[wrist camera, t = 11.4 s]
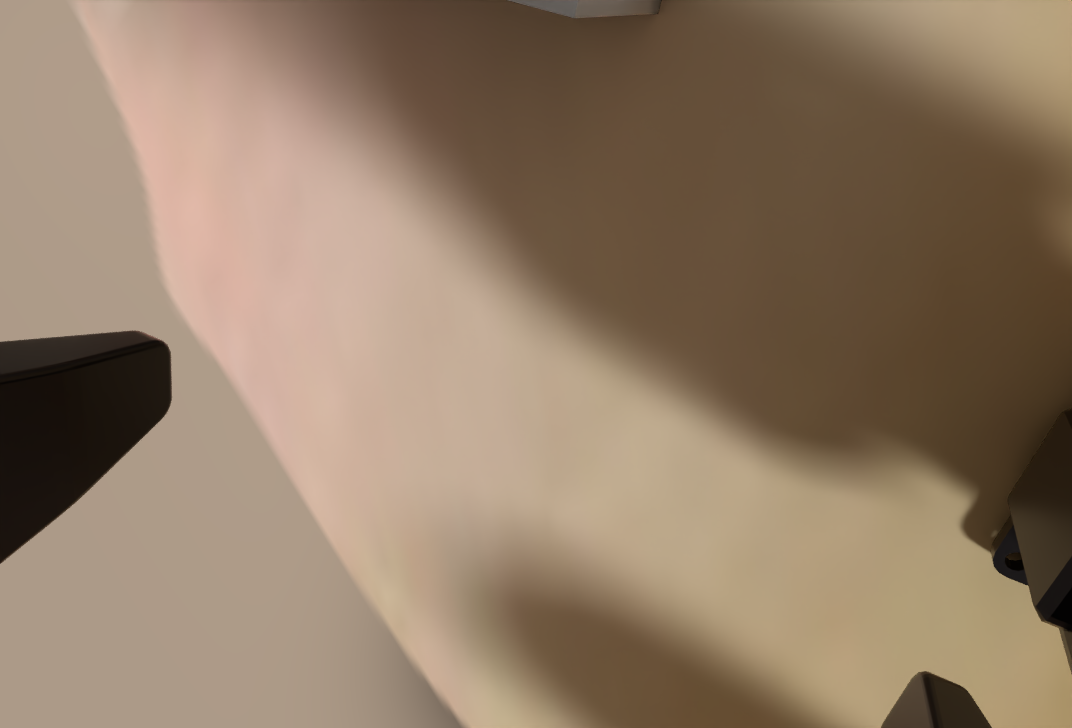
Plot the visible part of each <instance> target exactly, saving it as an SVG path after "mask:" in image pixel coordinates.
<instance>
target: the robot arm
mask: <svg viewBox="0 0 1072 728" xmlns="http://www.w3.org/2000/svg"><path fill="white" fill-rule="evenodd" d="M171 385H172V381H171V352H170V350H169V347H168V345H167V344H166V343H165V342H163V341H162V340H160V339H157V338H155V337H153V336H150V335H148V334H146V333H143V332H140V331H123V332H112V333H111V332H110V333H99V334H87V335H75V336H64V337H52V338H40V339H29V340H17V341H5V342H0V564H1V563H2V562H3V561H4V560H6V559H7V558H8V557H9V556H11V555H12V554H13V553H14V552H15V551H17V550H18V549H19V548H21V546H23V545H24V544H25V543H27V542H28V541H29V540H30V539H32V538H33V537H34V536H35V535H37V534H38V533H39V532H40V531H42V530H43V529H44V528H45V527H47V526H48V525H49V524H50V523H51V522H52V521H54V520H55V519H56V518H58V517H59V516H60V515H61V514H62V513H64V512H65V511H66V510H67V509H68V508H70V507H71V506H72V505H73V504H74V503H75V502H77V501H78V500H79V499H80V498H81V497H82V496H83V495H84V494H85V493H86V492H87V491H88V490H89V489H90V488H91V487H93V485H95V484H96V483H97V482H98V481H99V480H100V479H101V478H102V477H103V476H104V475H105V474H106V473H107V472H108V471H109V470H110V469H111V468H112V467H113V466H114V465H115V464H116V463H117V462H118V461H119V460H120V459H121V458H122V457H123V456H124V455H125V454H126V453H127V452H129V451H130V450H131V449H132V447H134V446H135V445H136V444H137V443H138V442H139V441H140V440H141V439H142V438H143V437H144V436H145V435H146V434H147V433H148V432H149V431H150V430H151V429H152V428H153V427H154V426H155V425H156V424H157V423H158V422H159V421H160V420H161V419H162V418H163V417H164V416H165V414H166V413H167V411H168V409H169V407H170V404H171V400H172V386H171ZM1008 504H1009V508H1010V512H1011V516H1010V517H1009V519H1008V520H1007V522H1006V523H1005V525H1004V527H1003V528H1002V530H1001V531H1000V533H999V534H998V536H997V537H996V539H995V541H994V542H993V544H992V547H991V554H992V559H993V564H994V567H995V568H996V569H997V571H998V572H999V573H1000V574H1002V575H1004V576H1006V577H1007V578H1010V579H1013V580H1015V581H1018V582H1020V583H1023V584H1025V585H1028V586H1029V590H1030V594H1031V598H1032V602H1033V605H1034V607H1035V610H1036V612H1037V614H1038V616H1039V618H1040V619H1041V621H1043V622H1045V623H1048V624H1050V625H1053V626H1055V627H1058V628H1059V630H1060V634H1061V637H1062V641H1063V645H1064V648H1065V652H1066V655H1067V659H1068V663H1069V666H1070V670H1071V674H1072V408H1071V409H1069V410H1066V411H1064V412H1062V413H1061V414H1060V416H1059V418H1058V419H1057V421H1056V422H1055V424H1054V425H1053V427H1052V429H1051V430H1050V432H1049V433H1048V435H1047V436H1046V438H1045V440H1044V441H1043V443H1042V444H1041V446H1040V448H1039V449H1038V451H1037V452H1036V454H1035V455H1034V457H1033V459H1032V460H1031V462H1030V463H1029V465H1028V466H1027V468H1026V470H1025V471H1024V473H1023V474H1022V476H1021V477H1020V479H1019V481H1018V482H1017V484H1016V485H1015V487H1014V489H1013V490H1012V492H1011V493H1010V495H1009V497H1008ZM1015 552H1018V553H1021V557H1022V560H1017V561H1014V560H1009V559H1008V558H1006V556H1008V555H1009V554H1010V553H1015ZM881 728H992V727H991V726H990V724H989V723H988V721H987V720H986V718H985V717H984V715H983V713H982V712H981V710H980V709H979V707H978V706H977V704H976V703H975V701H974V699H973V698H972V696H971V695H970V694H969V693H968V691H967V690H966V689H965V688H963V687H962V686H960V685H958V684H955V683H953V682H951V681H948V680H946V679H944V678H941V677H939V676H937V675H934V674H932V673H930V672H927V671H924V672H919V673H917V674H916V675H915V676H914V677H913V678H912V679H911V681H910V682H909V684H908V685H907V687H906V688H905V690H904V691H903V693H902V694H901V696H900V697H899V699H898V701H897V702H896V704H895V705H894V707H893V708H892V710H891V711H890V713H889V714H888V716H887V717H886V719H885V721H884V722H883V724H882V726H881Z"/></svg>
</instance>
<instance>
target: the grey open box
mask: <svg viewBox="0 0 1072 728" xmlns="http://www.w3.org/2000/svg"><path fill="white" fill-rule="evenodd" d="M508 1H512V2H515V3H519V4H523V5H527V6H530V7H534V8H538V9H542V10H545V11H549V12H553V13H556V14H560V15H564V16H568V17H571V18H589V17H608V16H627V15H646V14H658V12H659V8H660V4H661V0H508Z"/></svg>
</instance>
